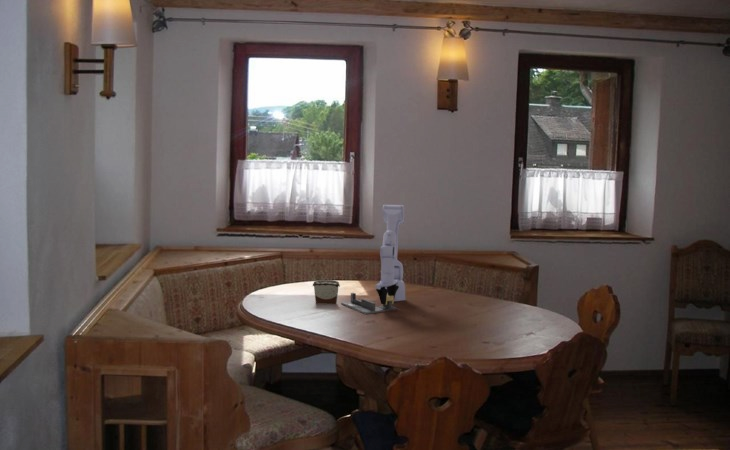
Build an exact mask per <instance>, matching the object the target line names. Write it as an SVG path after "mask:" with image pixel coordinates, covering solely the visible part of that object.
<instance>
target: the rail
mask: <svg viewBox="0 0 730 450" xmlns="http://www.w3.org/2000/svg"><path fill="white" fill-rule="evenodd" d="M356 296H357V295H356V293H355V292H350V301H344V302H341V303H340V305H342V306H345V307H347V308H349V309H352V310H353V311H357V312H358V313H362V314H364V315H370V314H378V313H385V312H386V311H385V310H384V309H382V308H379V307H377V306H378V305H377V306H376V302H373V301H372V300H371V301H370V300H368V299H365V298H361V300H360V299H357V297H356Z"/></svg>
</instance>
